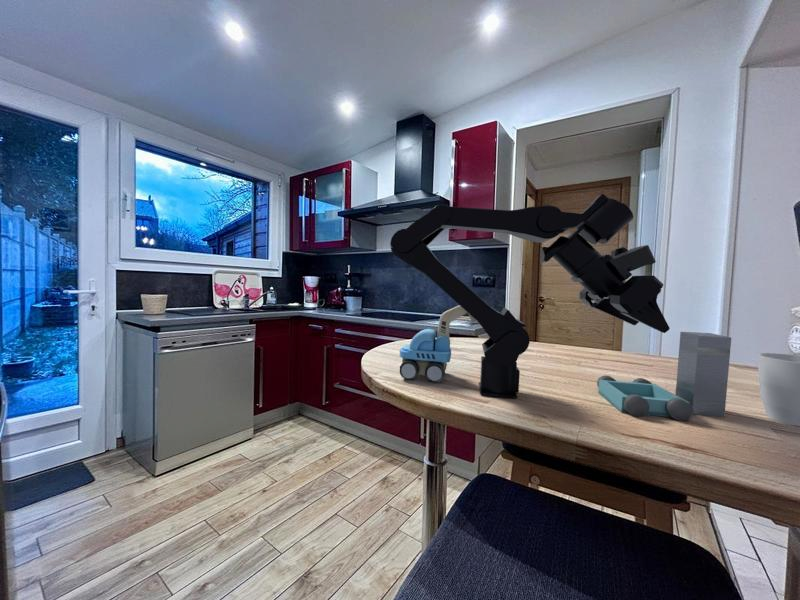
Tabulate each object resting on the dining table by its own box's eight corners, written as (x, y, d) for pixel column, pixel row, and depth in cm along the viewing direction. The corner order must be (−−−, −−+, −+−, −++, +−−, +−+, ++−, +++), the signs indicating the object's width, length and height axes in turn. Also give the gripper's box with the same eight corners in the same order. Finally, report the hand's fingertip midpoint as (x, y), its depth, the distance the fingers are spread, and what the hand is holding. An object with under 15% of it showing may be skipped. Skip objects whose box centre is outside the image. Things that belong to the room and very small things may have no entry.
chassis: (625, 415, 51) (626, 395, 51) (595, 390, 63) (596, 374, 63) (693, 422, 50) (695, 401, 49) (650, 395, 61) (651, 378, 61)
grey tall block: (692, 413, 53) (698, 335, 52) (674, 403, 57) (680, 331, 56) (724, 416, 52) (731, 337, 51) (704, 406, 56) (710, 333, 56)
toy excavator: (476, 387, 64) (480, 301, 63) (395, 379, 67) (397, 298, 66) (476, 375, 72) (479, 299, 71) (403, 369, 76) (405, 296, 74)
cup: (851, 436, 46) (859, 368, 45) (776, 426, 49) (783, 362, 48) (802, 414, 54) (809, 355, 53) (740, 407, 56) (745, 351, 56)
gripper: (651, 219, 46) (736, 297, 45) (599, 237, 65) (658, 292, 63) (589, 273, 48) (668, 350, 47) (555, 276, 67) (612, 330, 65)
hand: (650, 327), depth 55 cm, fingers open, 9 cm apart
